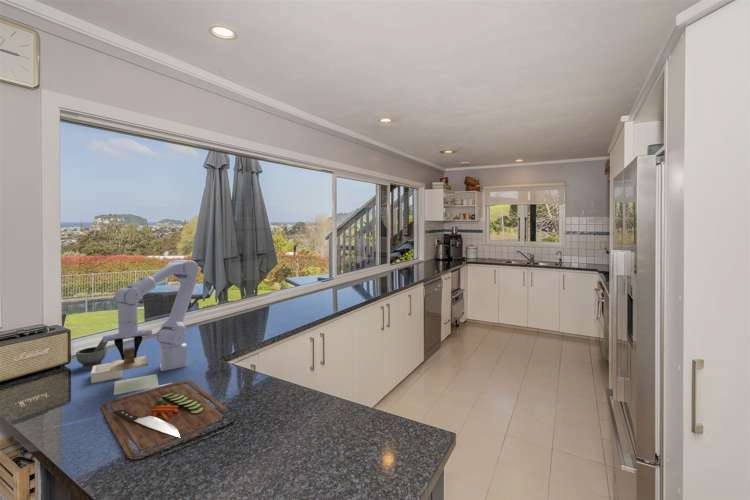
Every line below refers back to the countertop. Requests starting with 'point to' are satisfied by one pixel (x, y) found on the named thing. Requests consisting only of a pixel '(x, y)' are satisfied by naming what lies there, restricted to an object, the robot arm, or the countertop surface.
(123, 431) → the chopping board
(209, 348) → the countertop surface
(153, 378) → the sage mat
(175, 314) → the robot arm
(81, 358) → the mortar and pestle
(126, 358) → the birch lid
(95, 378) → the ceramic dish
